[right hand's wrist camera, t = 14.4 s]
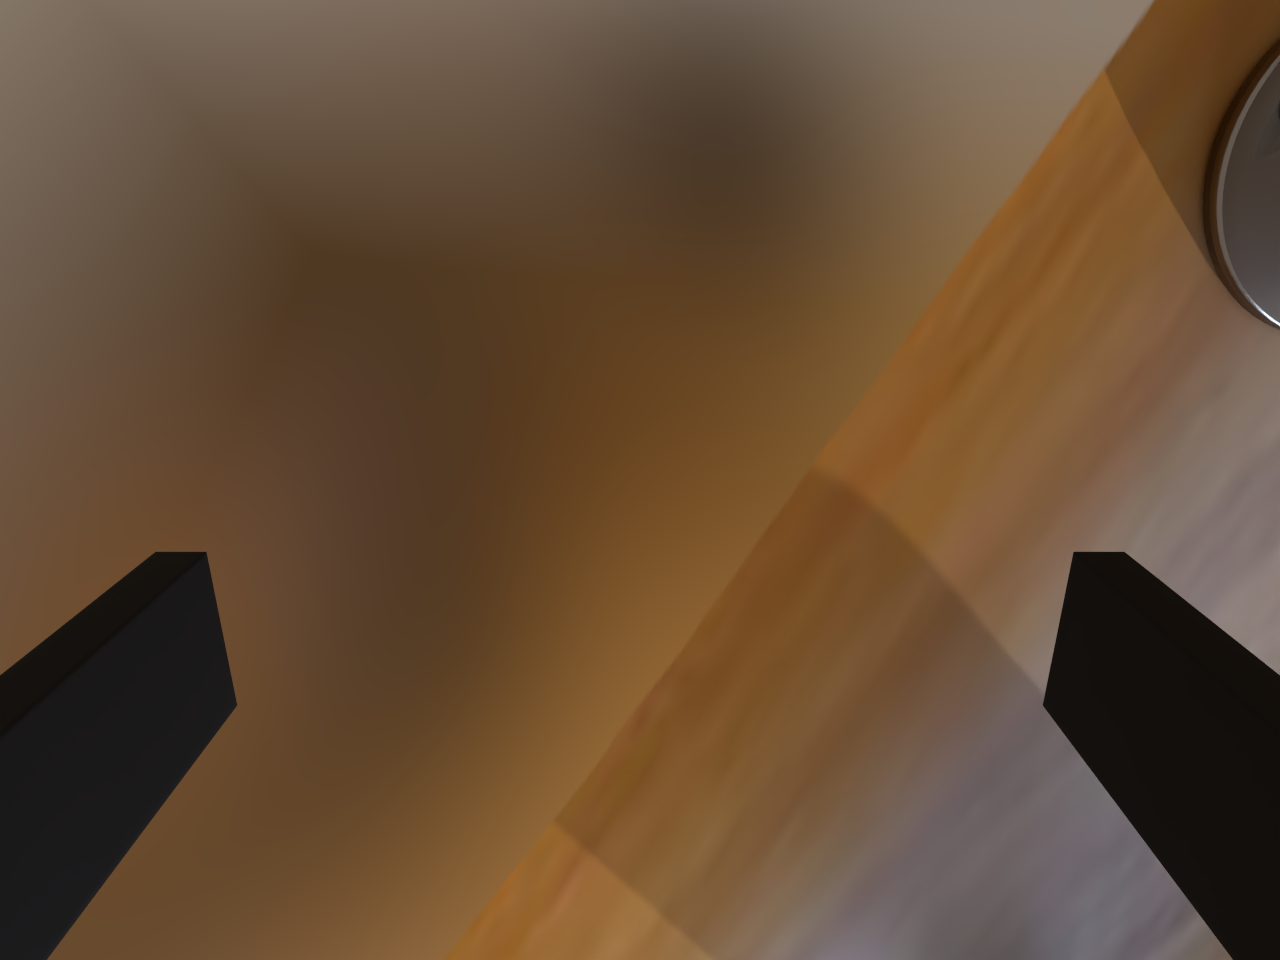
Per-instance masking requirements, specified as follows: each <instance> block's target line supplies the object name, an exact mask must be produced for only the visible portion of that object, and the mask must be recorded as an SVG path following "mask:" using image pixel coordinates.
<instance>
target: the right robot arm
mask: <svg viewBox="0 0 1280 960" xmlns="http://www.w3.org/2000/svg"><path fill="white" fill-rule="evenodd" d="M1203 219H1204V230H1205V236H1206V242H1207V246H1208V249H1209V253H1210V256H1211V259H1212V262H1213V264H1214V266H1215V269H1216V271H1217V273H1218V275H1219V277H1220V279H1221V280H1222V282H1223V284H1224V285H1225V287H1226V288H1227V290H1228V291H1229V292H1230V294H1231V295H1232V296H1233V297H1234V298H1235V299H1236V301H1237V302H1238V303H1239V304H1240V305H1241V306H1242V307H1243V308H1245V309H1246V310H1247V311H1248V312H1249V313H1251V314H1252V315H1253V316H1255V317H1256V318H1258V319H1259V320H1261V321H1263V322H1264V323H1266V324H1268V325H1270V326H1272V327H1274V328H1276V329H1279V330H1280V40H1279V41H1278V42H1277V43H1276V44H1275V45H1274V46H1273V47H1272V48H1271V49H1270V50H1269V51H1268V53H1267V54H1266V55H1265V56H1264V57H1263V59H1262V60H1261V61H1260V62H1259V63H1258V65H1257V66H1256V67H1255V68H1254V70H1253V71H1252V73H1251V74H1250V75H1249V77H1248V78H1247V80H1246V81H1245V82H1244V84H1243V85H1242V87H1241V89H1240V90H1239V92H1238V94H1237V95H1236V97H1235V99H1234V100H1233V102H1232V104H1231V106H1230V108H1229V110H1228V112H1227V114H1226V116H1225V118H1224V120H1223V122H1222V125H1221V127H1220V129H1219V132H1218V134H1217V137H1216V140H1215V143H1214V146H1213V149H1212V152H1211V155H1210V159H1209V164H1208V168H1207V172H1206V179H1205V186H1204V196H1203ZM236 706H237V702H236V697H235V693H234V687H233V682H232V677H231V673H230V668H229V663H228V658H227V653H226V648H225V643H224V638H223V633H222V628H221V623H220V618H219V613H218V608H217V603H216V598H215V593H214V588H213V583H212V578H211V573H210V568H209V563H208V558H207V553H206V552H155V553H154V554H152V555H151V556H150V557H149V558H147V559H146V560H145V561H144V562H142V563H141V564H140V565H139V566H137V567H136V568H135V569H134V570H132V571H131V572H130V573H129V574H127V575H126V576H125V577H124V578H122V579H121V580H120V581H118V582H117V583H116V584H115V585H113V586H112V587H111V588H110V589H108V590H107V591H106V592H105V593H103V594H102V595H101V596H100V597H98V598H97V599H96V600H95V601H93V602H92V603H91V604H90V605H88V606H87V607H86V608H85V609H83V610H82V611H81V612H80V613H78V614H77V615H76V616H74V617H73V618H72V619H71V620H69V621H68V622H67V623H66V624H64V625H63V626H62V627H61V628H59V629H58V630H57V631H56V632H54V633H53V634H52V635H51V636H49V637H48V638H47V639H45V640H44V641H43V642H42V643H40V644H39V645H38V646H37V647H35V648H34V649H33V650H32V651H30V652H29V653H28V654H27V655H25V656H24V657H23V658H22V659H20V660H19V661H18V662H17V663H15V664H14V665H13V666H12V667H10V668H9V669H8V670H6V671H5V672H4V673H3V674H1V675H0V960H47V959H48V957H49V956H50V955H51V953H52V952H53V951H54V949H55V948H56V947H57V945H58V944H59V943H60V941H61V940H62V939H63V937H64V936H65V935H66V933H67V932H68V931H69V929H70V928H71V927H72V925H73V924H74V923H75V921H76V920H77V919H78V917H79V916H80V915H81V913H82V912H83V911H84V909H85V908H86V907H87V905H88V904H89V903H90V901H91V900H92V899H93V897H94V896H95V895H96V893H97V892H98V890H99V889H100V888H101V887H102V885H103V884H104V883H105V881H106V880H107V878H108V877H109V876H110V874H111V873H112V872H113V870H114V869H115V868H116V866H117V865H118V864H119V862H120V861H121V860H122V858H123V857H124V856H125V854H126V853H127V852H128V850H129V849H130V848H131V846H132V845H133V844H134V842H135V841H136V840H137V838H138V837H139V836H140V834H141V833H142V832H143V830H144V829H145V828H146V826H147V825H148V824H149V822H150V821H151V820H152V818H153V817H154V816H155V814H156V813H157V812H158V810H159V809H160V808H161V806H162V805H163V804H164V802H165V801H166V800H167V798H168V797H169V796H170V794H171V793H172V792H173V790H174V789H175V788H176V786H177V785H178V784H179V782H180V781H181V780H182V778H183V777H184V776H185V774H186V773H187V772H188V770H189V769H190V768H191V766H192V765H193V764H194V762H195V761H196V760H197V758H198V757H199V756H200V754H201V753H202V752H203V750H204V749H205V748H206V746H207V745H208V743H209V742H210V741H211V739H212V738H213V737H214V736H215V734H216V733H217V731H218V730H219V729H220V727H221V726H222V725H223V723H224V722H225V721H226V719H227V718H228V717H229V716H230V714H231V713H232V711H233V710H234V709H235V707H236ZM1043 706H1044V708H1045V709H1046V710H1047V712H1048V713H1049V714H1050V716H1051V717H1052V718H1053V720H1054V721H1055V722H1056V724H1057V725H1058V726H1059V728H1060V729H1061V730H1062V732H1063V733H1064V734H1065V736H1066V737H1067V738H1068V740H1069V741H1070V742H1071V744H1072V745H1073V746H1074V748H1075V749H1076V750H1077V752H1078V753H1079V754H1080V756H1081V757H1082V758H1083V760H1084V761H1085V762H1086V764H1087V765H1088V766H1089V768H1090V769H1091V770H1092V772H1093V773H1094V774H1095V776H1096V777H1097V778H1098V780H1099V781H1100V782H1101V784H1102V785H1103V786H1104V788H1105V789H1106V790H1107V792H1108V793H1109V794H1110V796H1111V797H1112V798H1113V800H1114V801H1115V802H1116V804H1117V805H1118V806H1119V808H1120V809H1121V810H1122V812H1123V813H1124V814H1125V816H1126V817H1127V818H1128V820H1129V821H1130V822H1131V824H1132V825H1133V826H1134V828H1135V829H1136V830H1137V832H1138V833H1139V834H1140V836H1141V837H1142V838H1143V840H1144V841H1145V842H1146V844H1147V845H1148V846H1149V848H1150V849H1151V850H1152V852H1153V853H1154V854H1155V856H1156V857H1157V858H1158V860H1159V861H1160V862H1161V864H1162V865H1163V866H1164V868H1165V869H1166V870H1167V872H1168V873H1169V874H1170V876H1171V877H1172V878H1173V880H1174V881H1175V883H1176V884H1177V885H1178V887H1179V888H1180V889H1181V891H1182V892H1183V893H1184V895H1185V896H1186V897H1187V899H1188V900H1189V901H1190V903H1191V904H1192V905H1193V907H1194V908H1195V909H1196V911H1197V912H1198V913H1199V915H1200V916H1201V917H1202V919H1203V920H1204V921H1205V923H1206V924H1207V925H1208V927H1209V928H1210V929H1211V931H1212V932H1213V933H1214V935H1215V936H1216V937H1217V939H1218V940H1219V941H1220V943H1221V944H1222V945H1223V947H1224V948H1225V949H1226V951H1227V952H1228V953H1229V955H1230V956H1231V957H1232V959H1233V960H1280V675H1279V674H1277V673H1276V672H1275V671H1274V670H1272V669H1271V668H1270V667H1268V666H1267V665H1266V664H1265V663H1263V662H1262V661H1261V660H1260V659H1258V658H1257V657H1256V656H1255V655H1253V654H1252V653H1251V652H1250V651H1248V650H1247V649H1246V648H1245V647H1243V646H1242V645H1241V644H1240V643H1238V642H1237V641H1236V640H1235V639H1233V638H1232V637H1231V636H1229V635H1228V634H1227V633H1226V632H1224V631H1223V630H1222V629H1221V628H1219V627H1218V626H1217V625H1216V624H1214V623H1213V622H1212V621H1211V620H1209V619H1208V618H1207V617H1206V616H1204V615H1203V614H1202V613H1201V612H1199V611H1198V610H1197V609H1195V608H1194V607H1193V606H1192V605H1190V604H1189V603H1188V602H1187V601H1185V600H1184V599H1183V598H1182V597H1180V596H1179V595H1178V594H1177V593H1175V592H1174V591H1173V590H1172V589H1170V588H1169V587H1168V586H1167V585H1165V584H1164V583H1163V582H1162V581H1160V580H1159V579H1158V578H1156V577H1155V576H1154V575H1153V574H1151V573H1150V572H1149V571H1148V570H1146V569H1145V568H1144V567H1143V566H1141V565H1140V564H1139V563H1138V562H1136V561H1135V560H1134V559H1133V558H1131V557H1130V556H1129V555H1128V554H1126V553H1125V552H1074V553H1073V558H1072V563H1071V568H1070V573H1069V578H1068V583H1067V588H1066V593H1065V598H1064V603H1063V608H1062V613H1061V618H1060V623H1059V628H1058V633H1057V638H1056V643H1055V648H1054V653H1053V658H1052V663H1051V667H1050V672H1049V677H1048V682H1047V687H1046V692H1045V697H1044V702H1043Z"/></svg>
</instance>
